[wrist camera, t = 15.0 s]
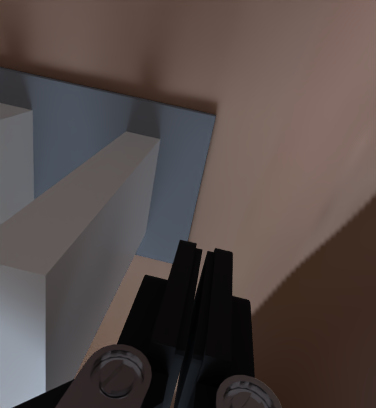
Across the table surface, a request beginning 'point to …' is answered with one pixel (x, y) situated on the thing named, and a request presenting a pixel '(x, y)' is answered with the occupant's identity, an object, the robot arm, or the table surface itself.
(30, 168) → the domino
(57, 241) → the domino
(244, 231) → the table surface
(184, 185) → the domino mat
